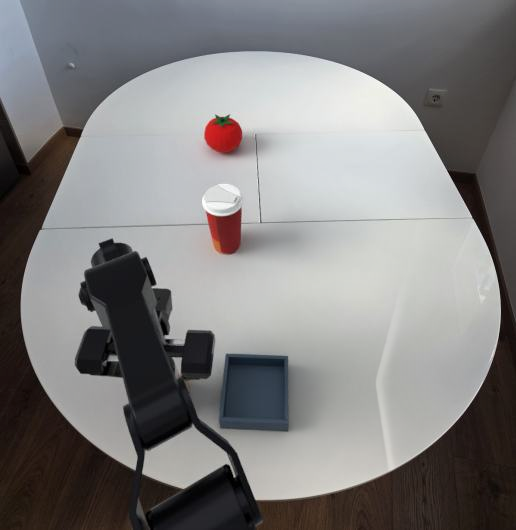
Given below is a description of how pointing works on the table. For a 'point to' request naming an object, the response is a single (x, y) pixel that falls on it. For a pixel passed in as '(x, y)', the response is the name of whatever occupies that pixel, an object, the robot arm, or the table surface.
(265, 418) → the crate
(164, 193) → the table surface
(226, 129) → the tomato
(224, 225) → the coffee cup
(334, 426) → the table surface
